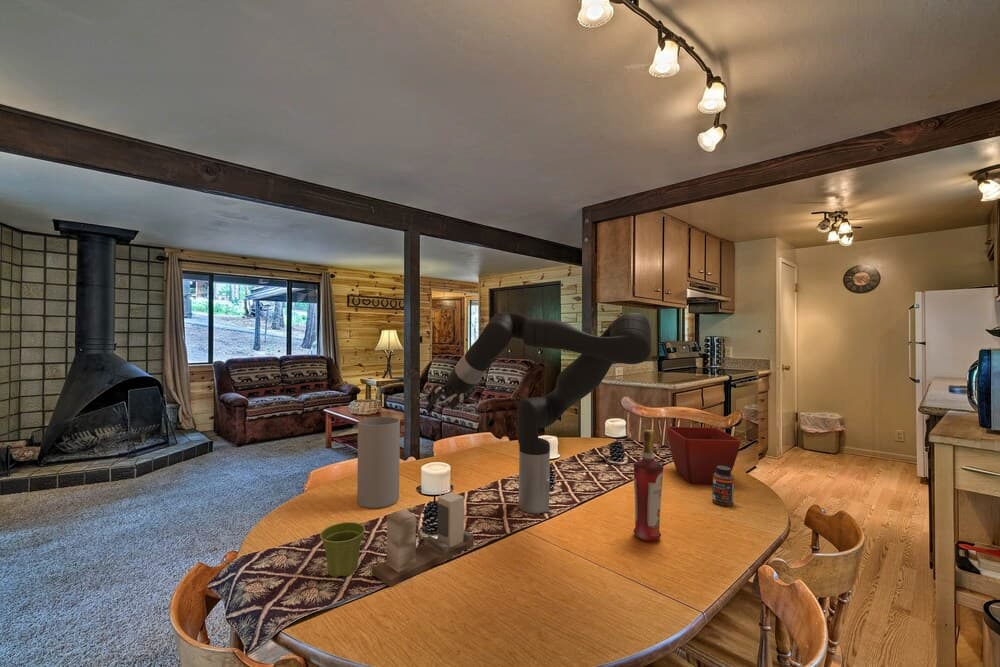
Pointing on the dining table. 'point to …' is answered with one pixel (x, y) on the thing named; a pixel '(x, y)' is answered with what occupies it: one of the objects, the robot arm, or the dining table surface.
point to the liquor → (648, 492)
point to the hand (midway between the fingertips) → (439, 409)
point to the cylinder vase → (378, 462)
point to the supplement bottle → (723, 486)
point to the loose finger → (451, 519)
